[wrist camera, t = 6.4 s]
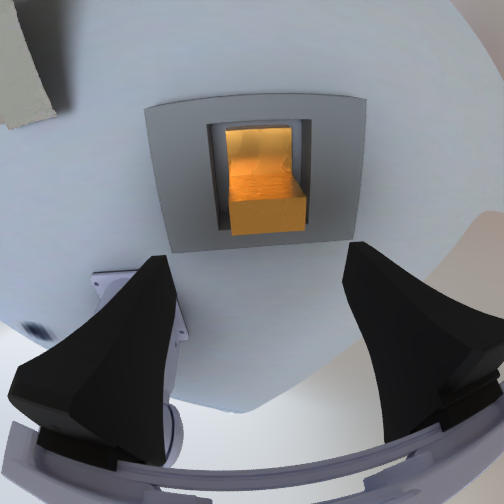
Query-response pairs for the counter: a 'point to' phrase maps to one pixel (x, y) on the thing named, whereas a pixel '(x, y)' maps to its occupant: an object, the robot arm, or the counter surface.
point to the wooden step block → (263, 181)
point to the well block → (204, 179)
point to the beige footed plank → (19, 75)
